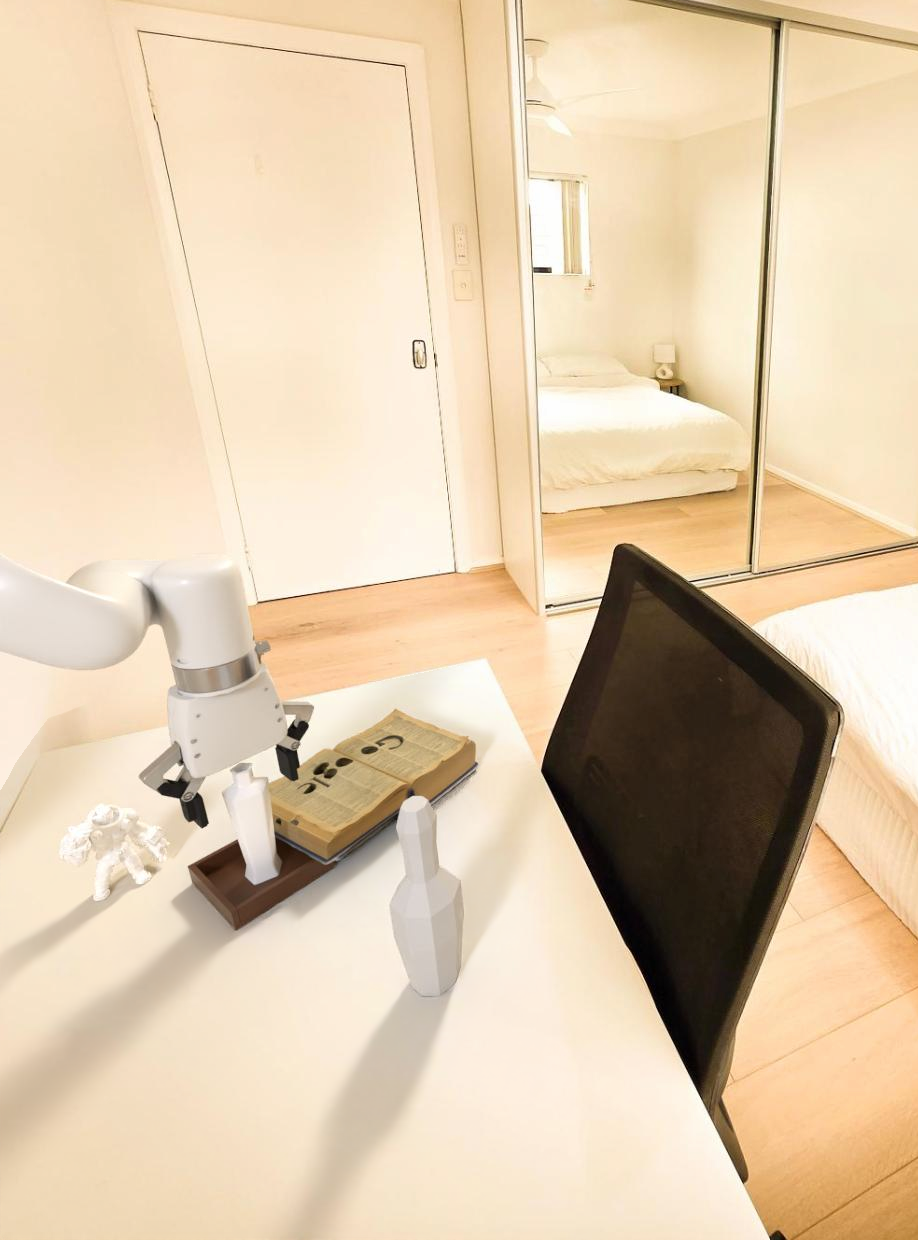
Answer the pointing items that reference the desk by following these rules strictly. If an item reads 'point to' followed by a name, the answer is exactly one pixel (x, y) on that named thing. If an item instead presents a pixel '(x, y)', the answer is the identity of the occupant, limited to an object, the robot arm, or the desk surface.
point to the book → (366, 784)
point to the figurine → (113, 844)
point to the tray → (240, 897)
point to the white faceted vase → (253, 823)
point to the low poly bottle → (426, 904)
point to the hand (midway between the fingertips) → (246, 797)
